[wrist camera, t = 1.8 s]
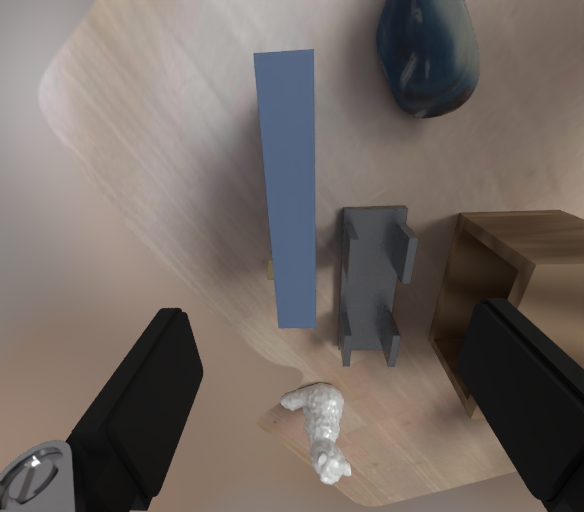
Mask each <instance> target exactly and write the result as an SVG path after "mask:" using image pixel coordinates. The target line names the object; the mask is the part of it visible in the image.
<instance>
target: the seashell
mask: <svg viewBox="0 0 584 512" xmlns="http://www.w3.org/2000/svg"><path fill="white" fill-rule="evenodd" d="M377 52H378V56H379V59H380V61H381V64H382V68H383V72H384V74H385V76H386V78H387V81H388V83H389V84H390V86H391V89H392V92H393V94H394V96H395V99H396V101H397V103H398V104H399V106H400V107H401V108H402V109H403V110H405V111H406V112H408V113H410V114H412V115H413V116H415V117H419V118H431V117H437V116H441V115H444V114H447V113H449V112H452V111H454V110H456V109H457V108H459V107H460V106H462V105H463V104H464V103H465V102H466V101H467V100H468V99H469V98H470V96H471V95H472V93H473V91H474V89H475V88H476V85H477V82H478V79H479V68H480V67H479V56H478V48H477V42H476V37H475V33H474V29H473V26H472V23H471V19H470V16H469V13H468V10H467V7H466V4H465V2H464V0H387V1H386V4H385V6H384V9H383V12H382V15H381V18H380V21H379V25H378V29H377Z"/></svg>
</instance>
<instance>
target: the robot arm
mask: <svg viewBox="0 0 584 512" xmlns="http://www.w3.org/2000/svg"><path fill="white" fill-rule="evenodd" d="M457 370H458V373H459V375H460V377H461V379H462V380H463V382H464V384H465V385H466V387H467V389H468V390H469V392H470V394H471V395H472V397H473V399H474V400H475V402H476V404H477V405H478V407H479V408H480V410H481V412H482V413H483V415H484V417H485V418H486V420H487V422H488V423H489V425H490V427H491V428H492V430H493V432H494V433H495V435H496V437H497V438H498V440H499V442H500V443H501V445H502V446H503V448H504V450H505V451H506V453H507V455H508V456H509V458H510V460H511V461H512V463H513V465H514V466H515V468H516V470H517V471H518V473H519V475H520V476H521V478H522V479H523V481H524V483H525V484H526V486H527V488H528V489H529V491H530V492H531V493H532V495H533V496H534V497H535V498H537V499H539V500H541V501H542V503H543V505H544V507H545V508H546V509H547V511H548V512H584V369H583V368H582V367H581V366H580V365H579V364H577V363H576V362H575V361H574V360H573V359H572V358H571V357H570V356H569V355H568V354H566V353H565V352H564V351H563V350H562V349H561V348H560V347H559V346H558V345H556V344H555V343H554V342H553V341H552V340H551V339H550V338H549V337H548V336H546V335H545V334H544V333H543V332H542V331H541V330H540V329H539V328H538V327H537V326H535V325H534V324H533V323H532V322H531V321H530V320H529V319H528V318H527V317H525V316H524V315H523V314H522V313H521V312H520V311H519V310H518V309H517V308H515V307H514V306H513V305H512V304H511V303H510V302H509V301H508V300H506V299H503V298H494V299H482V300H481V301H480V302H479V304H476V305H475V307H474V309H473V312H472V316H471V319H470V322H469V326H468V329H467V332H466V336H465V339H464V342H463V345H462V349H461V352H460V355H459V359H458V362H457ZM202 377H203V367H202V363H201V360H200V356H199V353H198V349H197V346H196V343H195V339H194V336H193V332H192V329H191V326H190V322H189V319H188V316H187V313H185V312H182V310H181V309H180V308H162V309H160V310H159V311H158V313H157V314H156V316H155V317H154V318H153V320H152V321H151V322H150V324H149V325H148V327H147V328H146V329H145V331H144V332H143V333H142V335H141V336H140V338H139V339H138V340H137V342H136V343H135V345H134V346H133V348H132V349H131V350H130V351H129V353H128V354H127V356H126V357H125V358H124V360H123V361H122V363H121V364H120V365H119V367H118V368H117V369H116V371H115V372H114V374H113V375H112V376H111V378H110V379H109V381H108V382H107V383H106V385H105V386H104V387H103V389H102V390H101V392H100V393H99V394H98V396H97V397H96V398H95V400H94V401H93V403H92V404H91V405H90V407H89V408H88V410H87V411H86V412H85V414H84V415H83V416H82V418H81V419H80V421H79V422H78V423H77V425H76V426H75V428H74V429H73V430H72V433H71V434H70V436H69V437H68V438H67V440H66V441H61V440H52V441H48V442H44V443H41V444H39V445H37V446H34V447H32V448H31V449H29V450H28V451H26V452H24V453H23V454H21V455H20V456H18V457H17V458H16V459H15V460H14V461H13V462H11V463H10V464H9V465H8V466H7V467H6V468H5V469H4V470H3V471H2V472H1V473H0V512H129V511H130V510H141V511H147V510H148V507H149V505H150V502H151V500H152V497H155V496H157V495H158V494H159V492H160V490H161V488H162V485H163V482H164V480H165V477H166V474H167V472H168V469H169V466H170V464H171V461H172V458H173V456H174V453H175V450H176V448H177V445H178V442H179V439H180V437H181V434H182V432H183V429H184V426H185V423H186V421H187V418H188V415H189V413H190V410H191V407H192V405H193V402H194V399H195V396H196V394H197V391H198V389H199V386H200V383H201V381H202Z"/></svg>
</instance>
